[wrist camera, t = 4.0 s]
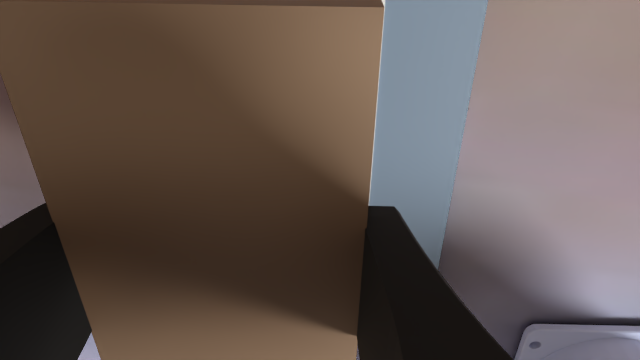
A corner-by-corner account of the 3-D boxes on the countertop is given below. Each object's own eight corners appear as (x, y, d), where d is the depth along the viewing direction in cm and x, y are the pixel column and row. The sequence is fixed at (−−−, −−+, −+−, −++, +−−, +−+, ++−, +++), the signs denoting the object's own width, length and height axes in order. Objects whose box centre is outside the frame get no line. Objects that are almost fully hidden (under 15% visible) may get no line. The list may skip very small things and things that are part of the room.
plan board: (427, 301, 22) (430, 313, 21) (134, 295, 22) (129, 307, 21) (541, -333, 11) (553, -345, 11) (-32, -339, 11) (-53, -351, 11)
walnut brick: (345, 295, 14) (350, 429, 11) (172, 291, 14) (123, 424, 11) (364, -44, 9) (384, 6, 6) (102, -48, 9) (-24, 1, 6)
